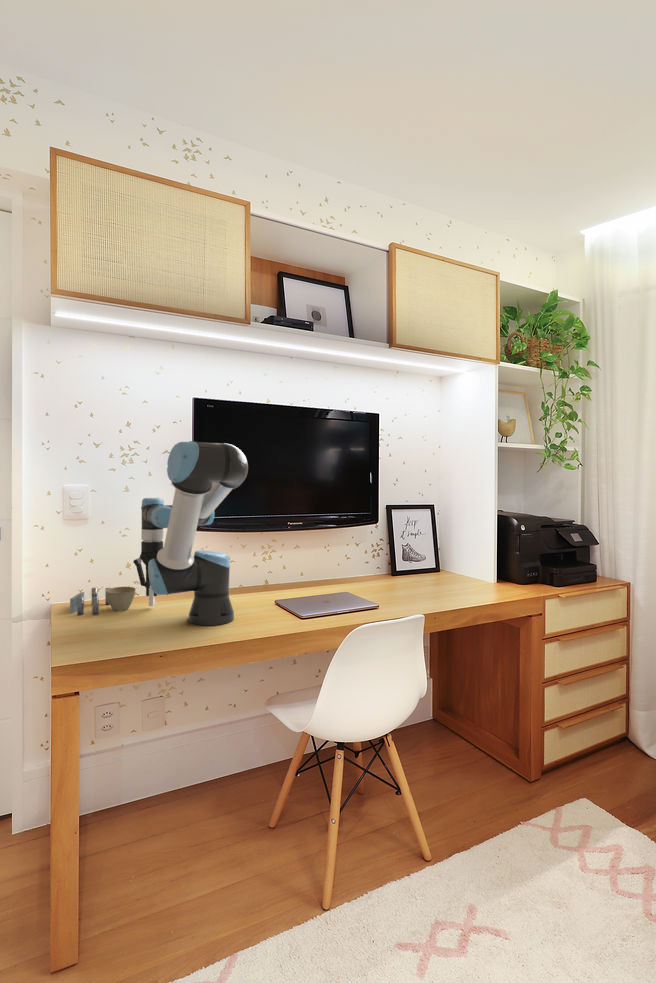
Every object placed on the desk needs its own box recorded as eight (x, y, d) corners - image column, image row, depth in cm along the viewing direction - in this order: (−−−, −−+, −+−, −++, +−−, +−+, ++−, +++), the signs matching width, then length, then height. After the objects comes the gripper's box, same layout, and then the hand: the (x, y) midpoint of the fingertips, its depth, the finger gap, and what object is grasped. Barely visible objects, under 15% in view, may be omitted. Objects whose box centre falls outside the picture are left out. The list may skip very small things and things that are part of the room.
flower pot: (116, 604, 196) (116, 585, 195) (140, 606, 194) (141, 587, 193) (99, 611, 186) (99, 591, 186) (125, 613, 184) (125, 593, 184)
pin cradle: (111, 603, 197) (112, 587, 197) (97, 615, 181) (97, 598, 181) (83, 603, 196) (83, 587, 196) (66, 615, 180) (66, 598, 180)
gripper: (172, 539, 194) (172, 602, 195) (136, 538, 193) (136, 602, 194) (168, 542, 187) (168, 607, 188) (130, 541, 186) (130, 607, 187)
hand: (151, 604), depth 191 cm, fingers closed
